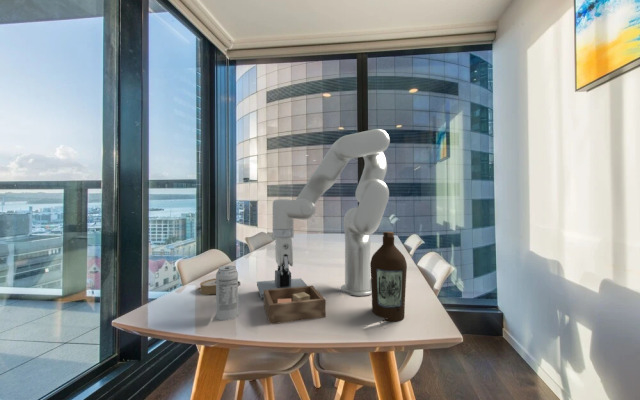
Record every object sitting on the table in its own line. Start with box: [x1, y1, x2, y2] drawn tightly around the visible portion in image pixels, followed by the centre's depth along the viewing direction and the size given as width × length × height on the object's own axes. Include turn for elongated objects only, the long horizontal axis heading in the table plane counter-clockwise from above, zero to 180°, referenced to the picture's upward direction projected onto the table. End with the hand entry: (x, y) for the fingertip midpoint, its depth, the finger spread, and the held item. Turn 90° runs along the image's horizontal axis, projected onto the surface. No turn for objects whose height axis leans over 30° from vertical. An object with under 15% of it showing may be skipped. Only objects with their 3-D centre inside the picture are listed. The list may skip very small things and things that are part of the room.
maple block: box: [293, 292, 310, 301], centre depth 91 cm, size 4×4×4 cm
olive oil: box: [370, 231, 408, 323], centre depth 87 cm, size 11×11×25 cm
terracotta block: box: [278, 299, 291, 303], centre depth 85 cm, size 4×4×4 cm
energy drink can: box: [215, 265, 239, 321], centre depth 84 cm, size 6×6×15 cm
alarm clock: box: [196, 277, 241, 295], centre depth 111 cm, size 11×5×15 cm
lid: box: [256, 269, 308, 299], centre depth 105 cm, size 17×15×7 cm
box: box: [263, 285, 327, 325], centre depth 88 cm, size 16×14×6 cm
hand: (283, 283), depth 105 cm, fingers closed on lid, 5 cm apart
